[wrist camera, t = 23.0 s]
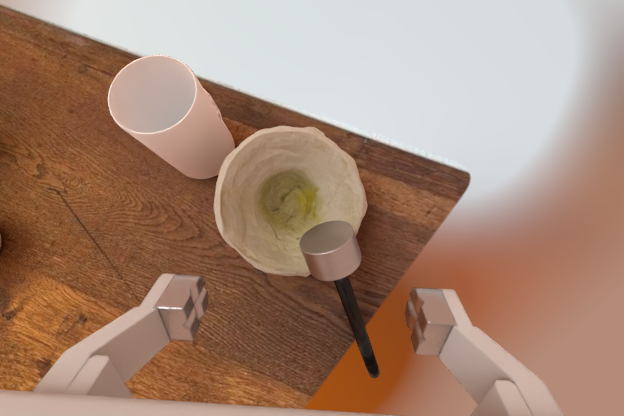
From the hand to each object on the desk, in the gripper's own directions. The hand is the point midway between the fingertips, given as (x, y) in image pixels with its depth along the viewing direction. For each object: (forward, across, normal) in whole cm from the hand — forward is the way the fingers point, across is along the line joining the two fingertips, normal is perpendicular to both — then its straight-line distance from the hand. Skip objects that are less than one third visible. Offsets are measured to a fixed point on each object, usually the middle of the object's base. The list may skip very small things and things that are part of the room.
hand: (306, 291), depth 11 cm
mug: (+27, +16, +4) cm, 32 cm away
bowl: (+21, +2, +11) cm, 24 cm away
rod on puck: (+12, -1, +7) cm, 14 cm away
